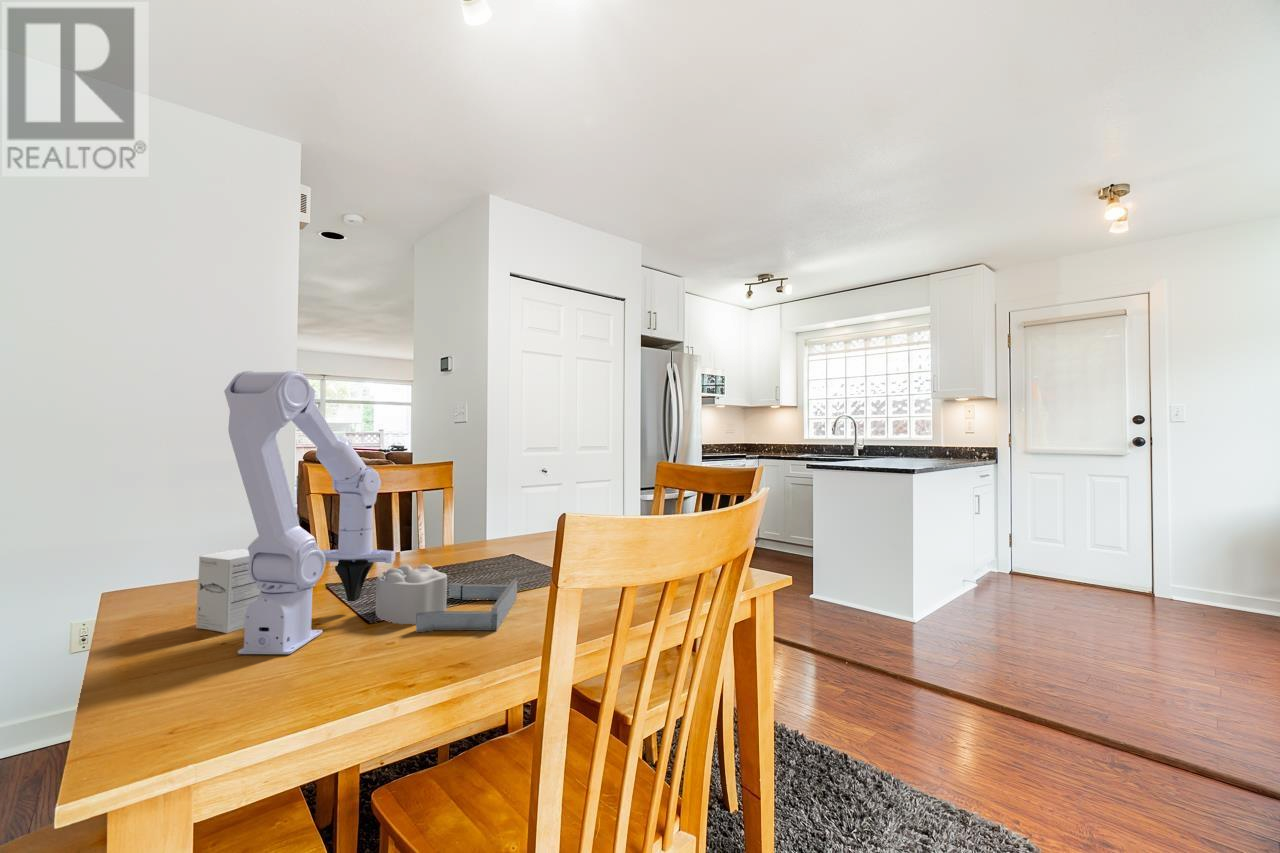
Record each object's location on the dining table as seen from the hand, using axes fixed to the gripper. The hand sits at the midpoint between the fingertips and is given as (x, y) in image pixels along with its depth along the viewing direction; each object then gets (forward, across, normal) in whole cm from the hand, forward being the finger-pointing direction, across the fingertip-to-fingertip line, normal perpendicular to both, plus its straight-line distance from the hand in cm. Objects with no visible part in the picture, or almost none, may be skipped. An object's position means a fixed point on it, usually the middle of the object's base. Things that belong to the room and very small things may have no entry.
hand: (353, 599), depth 103 cm
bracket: (+2, -22, 0) cm, 22 cm away
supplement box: (+3, +18, +7) cm, 19 cm away
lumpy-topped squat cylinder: (+3, -10, 0) cm, 11 cm away
